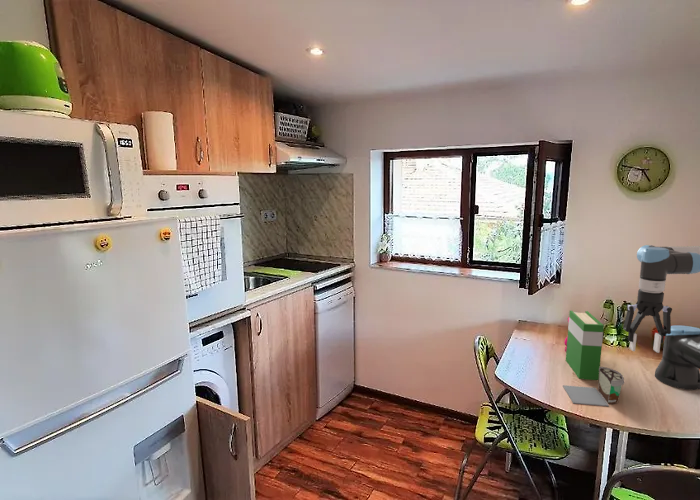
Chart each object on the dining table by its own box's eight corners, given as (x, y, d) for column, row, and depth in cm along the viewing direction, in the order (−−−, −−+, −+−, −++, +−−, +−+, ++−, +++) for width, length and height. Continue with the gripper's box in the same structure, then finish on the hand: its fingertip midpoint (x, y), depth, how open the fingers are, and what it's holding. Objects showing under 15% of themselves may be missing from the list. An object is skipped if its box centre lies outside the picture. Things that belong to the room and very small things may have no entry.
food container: (628, 407, 150) (631, 382, 148) (609, 406, 151) (612, 381, 149) (614, 390, 162) (616, 367, 160) (596, 389, 163) (599, 365, 161)
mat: (595, 388, 163) (595, 387, 163) (608, 406, 151) (608, 405, 151) (562, 386, 166) (562, 385, 166) (573, 403, 153) (573, 402, 153)
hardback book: (565, 360, 188) (569, 310, 184) (583, 361, 187) (587, 311, 183) (579, 378, 171) (583, 324, 167) (598, 380, 170) (603, 325, 166)
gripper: (624, 292, 145) (618, 352, 149) (689, 294, 141) (681, 356, 145) (615, 286, 152) (609, 344, 157) (677, 288, 148) (669, 348, 153)
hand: (644, 350), depth 151 cm, fingers open, 7 cm apart
